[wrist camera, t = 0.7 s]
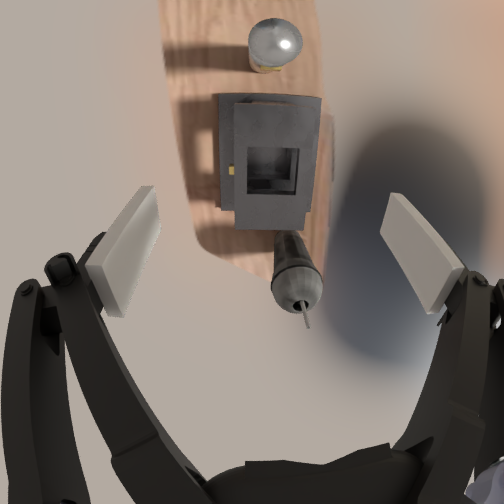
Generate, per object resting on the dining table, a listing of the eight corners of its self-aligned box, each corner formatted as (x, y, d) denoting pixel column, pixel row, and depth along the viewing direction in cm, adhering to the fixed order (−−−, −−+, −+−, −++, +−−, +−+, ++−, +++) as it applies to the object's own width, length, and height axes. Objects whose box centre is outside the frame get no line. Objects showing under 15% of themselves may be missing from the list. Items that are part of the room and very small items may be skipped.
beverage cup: (263, 254, 49) (269, 349, 32) (270, 218, 44) (282, 311, 28) (302, 259, 49) (324, 351, 33) (313, 224, 45) (345, 314, 29)
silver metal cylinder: (249, 47, 29) (248, 17, 14) (278, 48, 29) (303, 20, 14) (248, 74, 31) (247, 65, 17) (278, 75, 31) (301, 68, 17)
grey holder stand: (219, 93, 33) (210, 96, 26) (319, 97, 33) (337, 102, 26) (221, 207, 43) (216, 235, 36) (308, 209, 43) (320, 237, 36)
